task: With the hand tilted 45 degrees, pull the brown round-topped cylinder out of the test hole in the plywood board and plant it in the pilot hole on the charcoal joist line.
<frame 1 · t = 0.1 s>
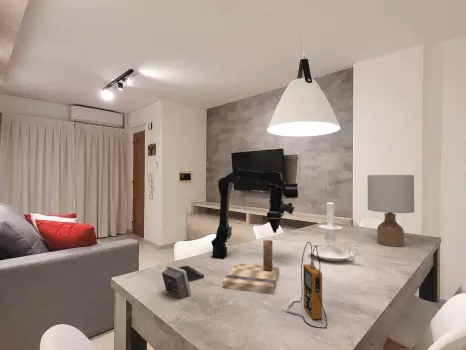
hand: (276, 230, 119), 15 cm above the table, tool pointing down, fingers open, 9 cm apart
multimeter: (300, 315, 72), on the table
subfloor: (252, 280, 97), on the table
electrical switch: (176, 295, 84), on the table
brown round-topped cylinder: (267, 276, 101), resting in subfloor
candlestick: (334, 259, 123), on the table
phone: (187, 275, 103), on the table
lamp: (390, 244, 153), on the table
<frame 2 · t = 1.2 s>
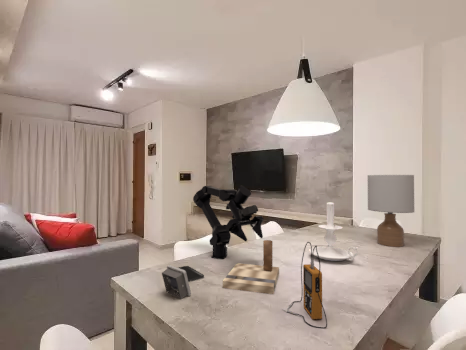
hand: (254, 239, 107), 13 cm above the table, tool tilted 45°, fingers open, 9 cm apart
nothing on the table moved.
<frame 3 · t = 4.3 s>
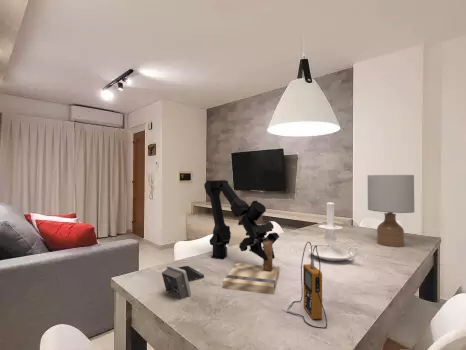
hand: (270, 259, 100), 7 cm above the table, tool tilted 45°, fingers closed on brown round-topped cylinder, 4 cm apart
brown round-topped cylinder: (267, 276, 101), resting in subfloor, touching gripper
everything else where it was.
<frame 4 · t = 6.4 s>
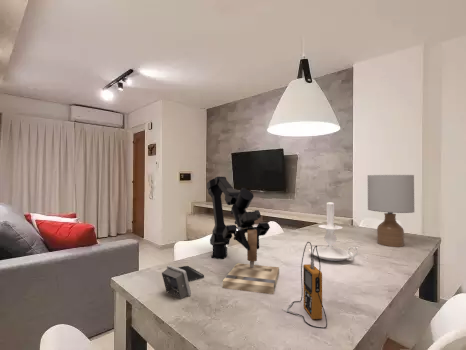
hand: (253, 249, 94), 13 cm above the table, tool tilted 45°, fingers closed on brown round-topped cylinder, 4 cm apart
brown round-topped cylinder: (252, 267, 95), point 5 cm above the table, touching gripper
everything else where it was.
when the fingers open (8 cm above the table, at t = 8.6 s): brown round-topped cylinder stays where it is, resting in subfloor.
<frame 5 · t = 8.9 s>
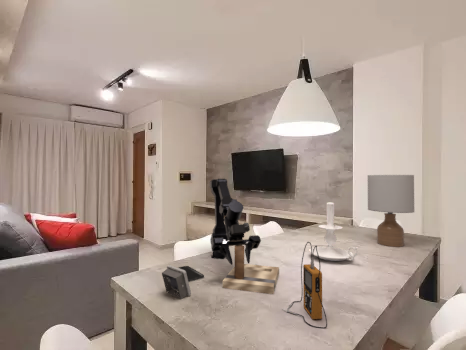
hand: (240, 263, 92), 8 cm above the table, tool tilted 45°, fingers open, 6 cm apart
brown round-topped cylinder: (239, 284, 93), resting in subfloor
everything else where it was.
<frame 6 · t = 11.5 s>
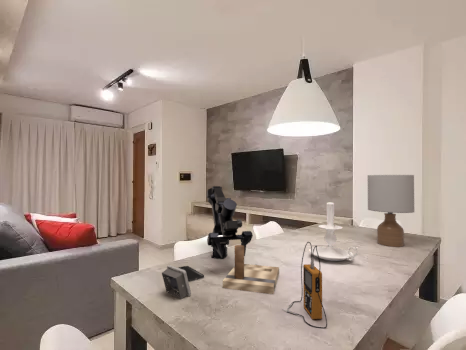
hand: (233, 256, 101), 8 cm above the table, tool tilted 45°, fingers open, 9 cm apart
nothing on the table moved.
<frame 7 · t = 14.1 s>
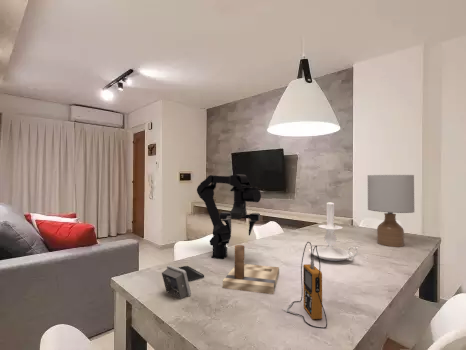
hand: (239, 234, 118), 13 cm above the table, tool pointing down, fingers open, 9 cm apart
nothing on the table moved.
at the end: brown round-topped cylinder 0.1 cm from the target spot, resting in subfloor; brown round-topped cylinder tilted 0°; the gripper is holding nothing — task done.
